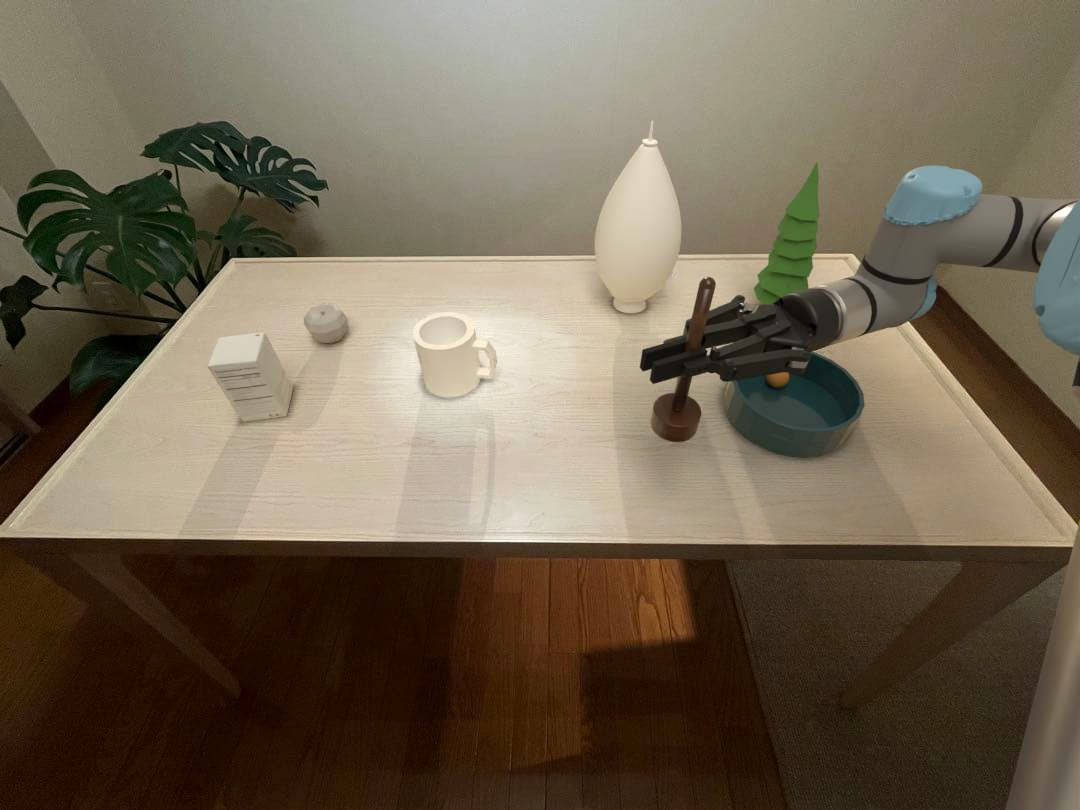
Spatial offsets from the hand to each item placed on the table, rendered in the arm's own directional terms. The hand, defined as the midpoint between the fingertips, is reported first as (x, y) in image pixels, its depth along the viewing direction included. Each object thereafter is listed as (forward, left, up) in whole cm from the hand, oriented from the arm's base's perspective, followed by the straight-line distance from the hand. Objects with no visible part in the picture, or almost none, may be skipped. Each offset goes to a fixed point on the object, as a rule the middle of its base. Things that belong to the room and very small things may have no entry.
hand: (648, 366), depth 58 cm
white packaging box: (+39, +49, -24) cm, 67 cm away
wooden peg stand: (0, -6, -12) cm, 13 cm away
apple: (+54, +37, -24) cm, 69 cm away
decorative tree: (+27, -46, -24) cm, 59 cm away
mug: (+33, +17, -24) cm, 44 cm away
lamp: (+42, -22, -24) cm, 53 cm away
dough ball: (+10, -33, -21) cm, 41 cm away
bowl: (+5, -32, -24) cm, 40 cm away
